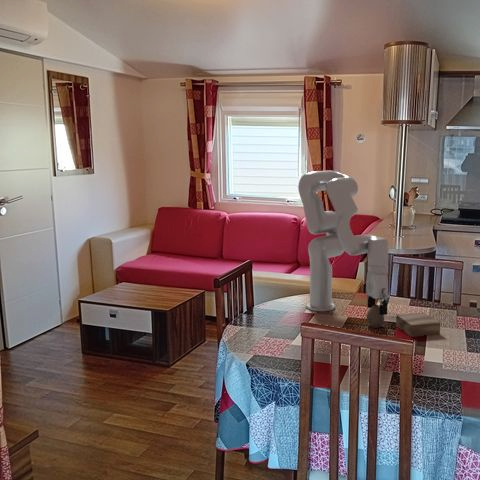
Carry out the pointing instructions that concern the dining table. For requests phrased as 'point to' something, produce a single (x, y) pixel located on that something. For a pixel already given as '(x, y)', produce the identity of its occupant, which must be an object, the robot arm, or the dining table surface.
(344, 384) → the dining table surface
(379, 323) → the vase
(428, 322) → the walnut block
